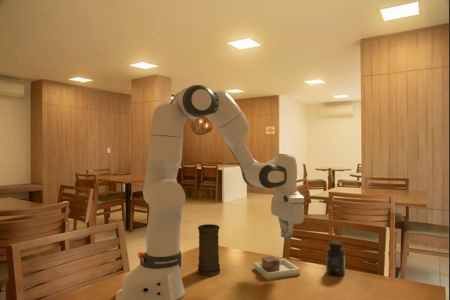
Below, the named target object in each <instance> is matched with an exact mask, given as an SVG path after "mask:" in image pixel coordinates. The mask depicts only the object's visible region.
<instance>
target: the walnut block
mask: <svg viewBox="0 0 450 300" xmlns="http://www.w3.org/2000/svg"><path fill="white" fill-rule="evenodd" d="M279 260H280V259H278V258H277V257H276V256H273V255H271V256H264V257H261V262H262V268H263V269H264V270H266V271H267V272H275V271H280V262H279Z"/></svg>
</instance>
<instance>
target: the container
mask: <svg viewBox="0 0 450 300" xmlns="http://www.w3.org/2000/svg"><path fill="white" fill-rule="evenodd" d="M197 229H198V264H197V274H198V275H202V276H204V277H205V276H206V277H211V276H217V275H219V274H220V272H221V267H220V266H221V265H220V257H219V230H220V226H219V225H217V224H211V223H208V224H201V225H199V226H198V227H197Z"/></svg>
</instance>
